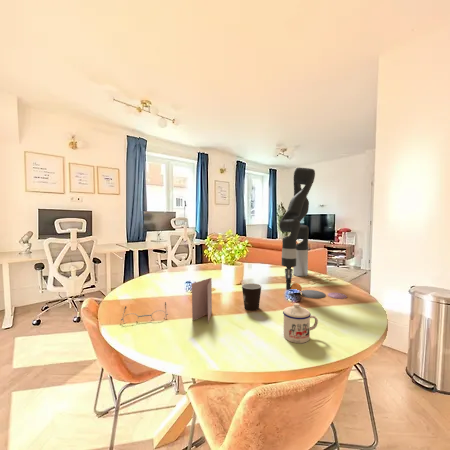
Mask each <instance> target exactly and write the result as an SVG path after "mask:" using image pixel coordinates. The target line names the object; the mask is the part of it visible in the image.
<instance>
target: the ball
mask: <svg viewBox="0 0 450 450" xmlns="http://www.w3.org/2000/svg"><path fill="white" fill-rule="evenodd" d="M291 289H297V290H300V291H303V289H302V286H301V284H300V283H298V282H294V283H291Z"/></svg>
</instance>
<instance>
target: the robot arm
mask: <svg viewBox="0 0 450 450" xmlns="http://www.w3.org/2000/svg"><path fill="white" fill-rule="evenodd" d="M315 178H316V171H315V169H313V168H310V167H309V168H307V167H295V169H294V171H293V197H292V198H291V200H290V202H289V204H288V207H287V210H286V212H285V213H284V214H283V216H282V217H281V219H280V221H279V223H278V224H279V225H278V226H279V230H280V231H281V232H283V233H290V234H289V235H288V236H284V237H282V244H281V245H282V249H281V266H283V267H286V268H284V278H285V282H286V284H285V285H286V287H285V288H286V291H290V290H289V289H291V285H292V279H293V276H296V277H308V276H309V275H308V274H309V273H308V271H309V255H308V254H309V226H308V225H305V224H301V221H302V220H303V219H304V218H305V217H306V216H307V214H308V212H309V205H310V202H309V199H308V197H307V196H308V195H309V192H310V190H311V188H312V186H313V183H314V182H315ZM302 185H303V188H302ZM297 240H302V241H301V242H299V243H297Z"/></svg>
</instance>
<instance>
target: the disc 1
mask: <svg viewBox="0 0 450 450" xmlns="http://www.w3.org/2000/svg"><path fill="white" fill-rule="evenodd" d="M301 292H302V296H301V297H304V298H309V299H324V298H326V297H327V296H326V295H327V294H326V293H324V292H323V291H320V290H314V289H305V290H303V289H302V290H301Z"/></svg>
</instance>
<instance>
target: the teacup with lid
mask: <svg viewBox="0 0 450 450" xmlns="http://www.w3.org/2000/svg"><path fill="white" fill-rule="evenodd" d="M282 314H283V337H284V339H285V340H286V341H289V342H292V343H294V344H304V343H306V342H309V340H310V338H311V334H310V333H311V331H313V330H315V329H316V328H317V327H318V324H319V320H318V318H317V317H316V316H315V315H313V314H311V312H310V310H308V309H307V308H305V307H302V306H300V303H298V302H295V303H293V305H291V306H287V307H285V308H284V309H283V311H282ZM311 319H314V324H313V325H312V326H311V325H310V324H311V321H310V320H311Z"/></svg>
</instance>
